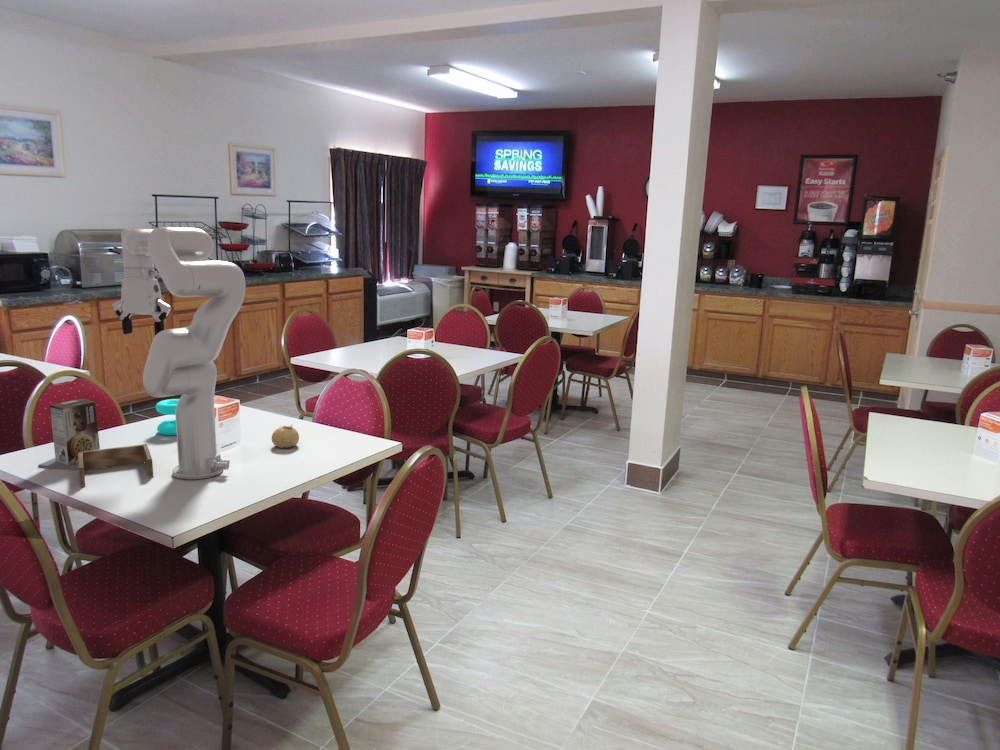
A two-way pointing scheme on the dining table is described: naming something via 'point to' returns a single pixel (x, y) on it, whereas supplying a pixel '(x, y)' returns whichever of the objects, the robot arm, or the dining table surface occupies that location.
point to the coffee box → (74, 429)
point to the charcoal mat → (59, 465)
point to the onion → (285, 436)
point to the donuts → (167, 409)
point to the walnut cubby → (114, 459)
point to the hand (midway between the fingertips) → (143, 334)
